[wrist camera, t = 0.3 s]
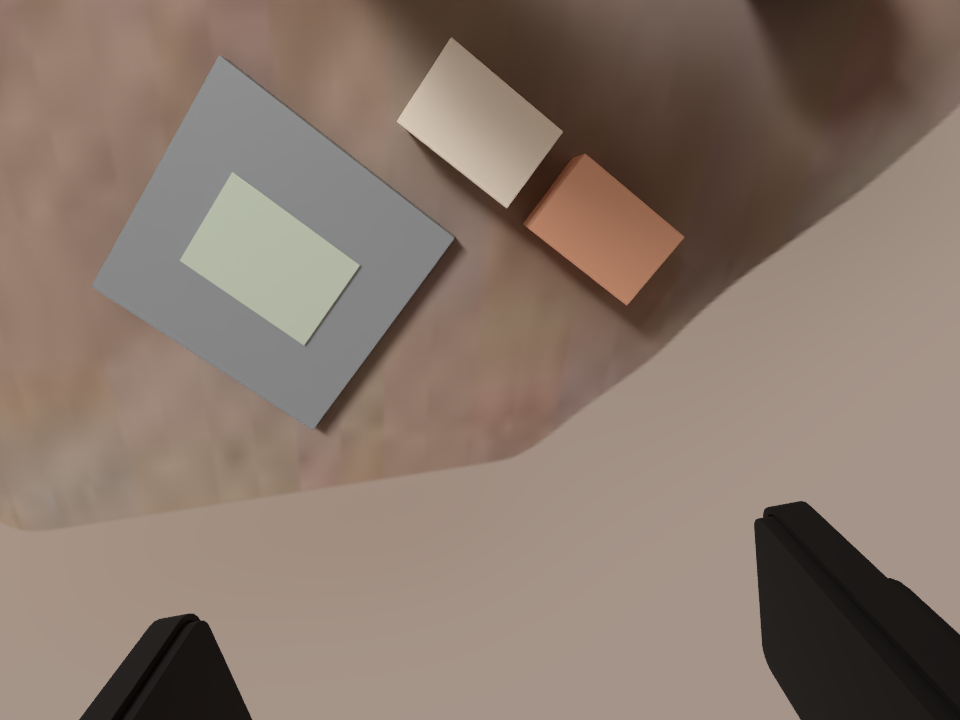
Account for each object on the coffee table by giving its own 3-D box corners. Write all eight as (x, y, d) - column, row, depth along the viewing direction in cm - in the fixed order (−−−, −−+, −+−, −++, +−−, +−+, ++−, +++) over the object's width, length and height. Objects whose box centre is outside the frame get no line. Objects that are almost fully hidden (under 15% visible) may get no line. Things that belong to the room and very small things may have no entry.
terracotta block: (522, 223, 41) (528, 228, 36) (571, 157, 40) (585, 153, 35) (609, 292, 43) (626, 305, 38) (660, 231, 41) (684, 237, 37)
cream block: (406, 129, 39) (396, 121, 34) (454, 56, 38) (451, 37, 33) (503, 206, 41) (506, 208, 36) (552, 138, 39) (563, 131, 35)
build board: (101, 284, 42) (89, 287, 41) (227, 59, 37) (218, 54, 36) (316, 424, 46) (311, 431, 45) (455, 236, 41) (454, 238, 40)
